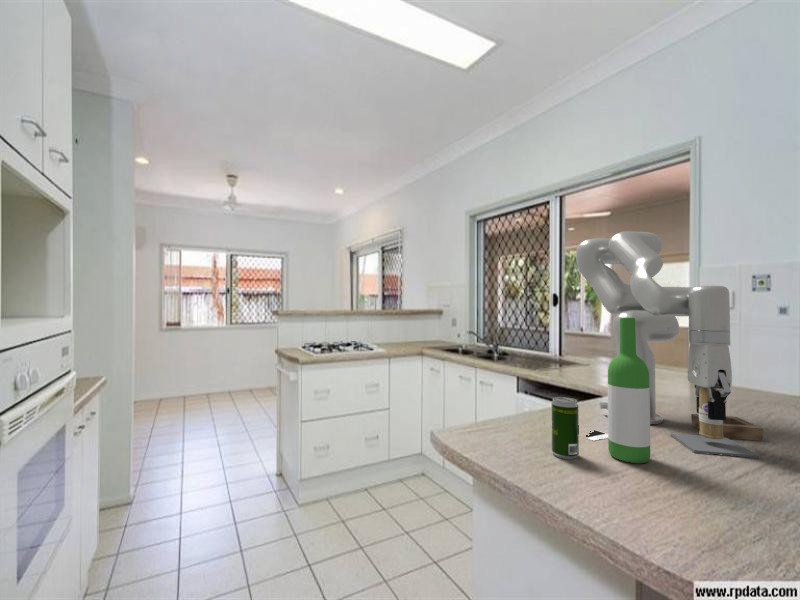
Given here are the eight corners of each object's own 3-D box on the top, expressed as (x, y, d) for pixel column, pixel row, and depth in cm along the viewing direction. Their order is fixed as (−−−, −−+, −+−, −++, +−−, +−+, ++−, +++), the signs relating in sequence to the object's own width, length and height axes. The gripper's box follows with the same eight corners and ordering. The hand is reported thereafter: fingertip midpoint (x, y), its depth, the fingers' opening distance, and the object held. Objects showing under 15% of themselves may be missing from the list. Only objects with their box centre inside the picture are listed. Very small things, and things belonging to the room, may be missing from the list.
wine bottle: (611, 461, 79) (609, 317, 80) (605, 449, 86) (604, 317, 87) (654, 467, 76) (653, 318, 77) (645, 454, 84) (644, 317, 84)
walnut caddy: (712, 436, 95) (711, 424, 95) (691, 424, 105) (691, 413, 105) (762, 440, 93) (762, 428, 93) (736, 427, 103) (736, 416, 103)
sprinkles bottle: (698, 437, 88) (697, 379, 89) (699, 432, 92) (698, 376, 92) (724, 441, 85) (723, 381, 86) (724, 436, 89) (723, 378, 89)
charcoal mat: (694, 452, 84) (694, 450, 84) (670, 435, 96) (670, 433, 96) (759, 458, 81) (759, 455, 81) (726, 440, 93) (726, 437, 93)
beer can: (584, 457, 81) (583, 401, 82) (566, 461, 79) (566, 403, 79) (563, 449, 86) (563, 395, 87) (546, 452, 84) (546, 398, 84)
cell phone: (593, 443, 92) (593, 440, 92) (542, 424, 106) (542, 422, 106) (615, 438, 95) (615, 436, 95) (562, 421, 109) (562, 419, 109)
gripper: (674, 335, 98) (676, 406, 98) (709, 340, 82) (711, 425, 82) (708, 336, 97) (710, 408, 96) (751, 341, 80) (753, 428, 80)
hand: (710, 415), depth 89 cm, fingers closed on sprinkles bottle, 4 cm apart
